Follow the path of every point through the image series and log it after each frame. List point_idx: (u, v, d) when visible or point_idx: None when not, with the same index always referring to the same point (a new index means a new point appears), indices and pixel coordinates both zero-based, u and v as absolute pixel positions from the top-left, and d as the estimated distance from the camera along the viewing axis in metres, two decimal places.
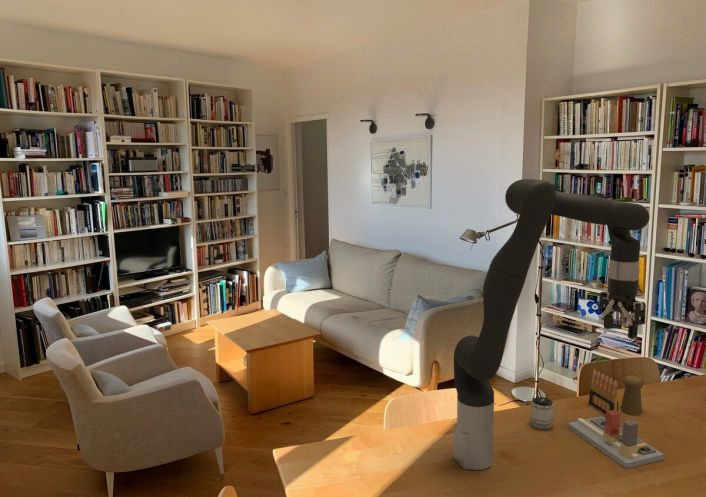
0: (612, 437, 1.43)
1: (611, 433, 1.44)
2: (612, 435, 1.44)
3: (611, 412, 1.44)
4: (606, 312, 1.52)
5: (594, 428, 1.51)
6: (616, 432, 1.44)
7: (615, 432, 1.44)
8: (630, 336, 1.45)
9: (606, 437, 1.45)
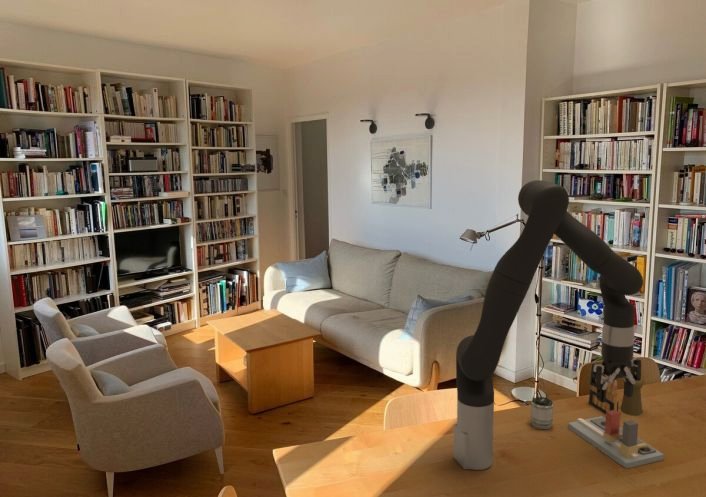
0: (612, 437, 1.43)
1: (611, 433, 1.44)
2: (612, 435, 1.44)
3: (611, 412, 1.44)
4: (606, 385, 1.40)
5: (594, 428, 1.51)
6: (616, 432, 1.44)
7: (615, 432, 1.44)
8: None
9: (606, 437, 1.45)
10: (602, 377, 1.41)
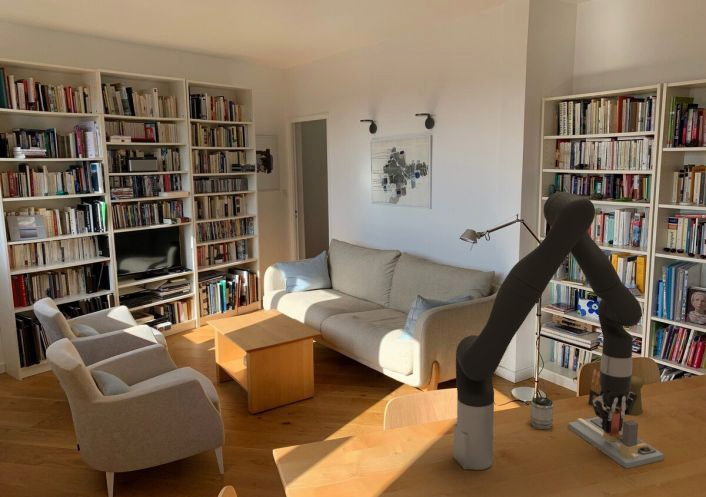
0: (612, 437, 1.43)
1: (611, 433, 1.44)
2: (612, 435, 1.44)
3: None
4: (610, 416, 1.42)
5: (594, 428, 1.51)
6: (616, 432, 1.44)
7: (615, 432, 1.44)
8: None
9: (606, 437, 1.45)
10: (604, 408, 1.43)
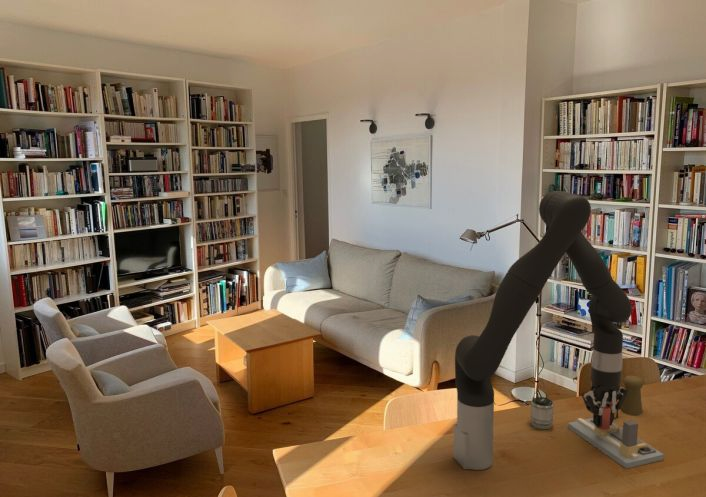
0: (603, 431, 1.47)
1: (602, 427, 1.47)
2: (603, 429, 1.47)
3: None
4: (601, 410, 1.45)
5: (594, 428, 1.51)
6: (607, 426, 1.47)
7: (606, 426, 1.47)
8: None
9: (597, 431, 1.48)
10: (595, 403, 1.46)
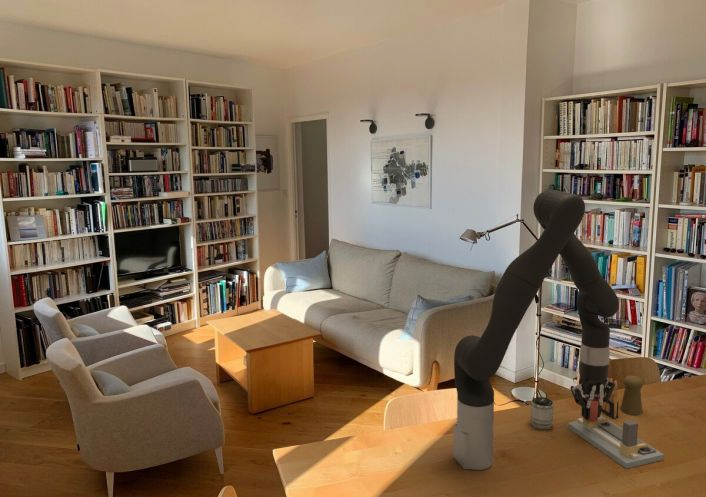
0: (591, 423, 1.51)
1: (590, 419, 1.51)
2: (591, 421, 1.51)
3: None
4: (589, 403, 1.50)
5: (594, 428, 1.51)
6: (594, 418, 1.51)
7: (594, 419, 1.51)
8: None
9: (585, 423, 1.52)
10: (584, 396, 1.51)
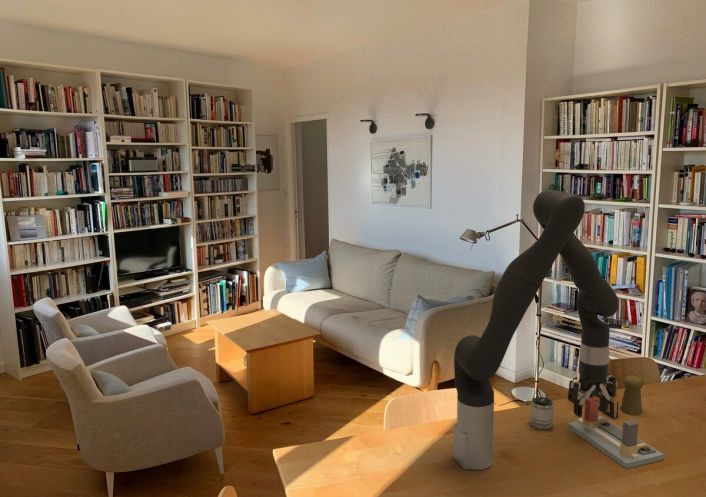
0: (591, 423, 1.51)
1: (590, 419, 1.51)
2: (591, 421, 1.51)
3: (590, 399, 1.51)
4: (582, 401, 1.49)
5: (594, 428, 1.51)
6: (594, 418, 1.51)
7: (594, 418, 1.51)
8: None
9: (585, 423, 1.52)
10: (579, 393, 1.50)
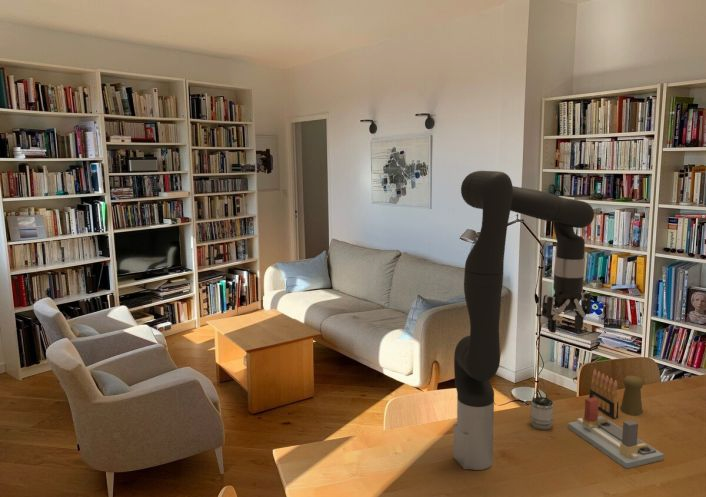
0: (591, 423, 1.51)
1: (590, 419, 1.51)
2: (591, 421, 1.51)
3: (590, 399, 1.51)
4: (556, 315, 1.47)
5: (594, 428, 1.51)
6: (594, 418, 1.51)
7: (594, 418, 1.51)
8: None
9: (585, 423, 1.52)
10: (553, 309, 1.48)
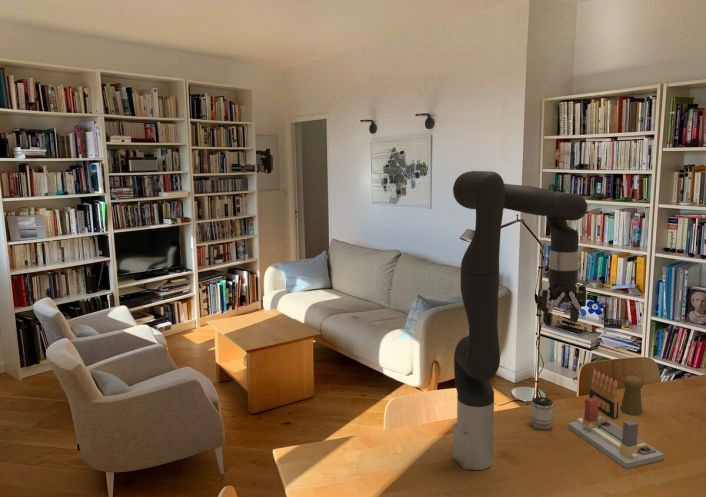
0: (591, 423, 1.51)
1: (590, 419, 1.51)
2: (591, 421, 1.51)
3: (590, 399, 1.51)
4: (552, 308, 1.47)
5: (594, 428, 1.51)
6: (594, 418, 1.51)
7: (594, 418, 1.51)
8: None
9: (585, 423, 1.52)
10: (548, 302, 1.48)
